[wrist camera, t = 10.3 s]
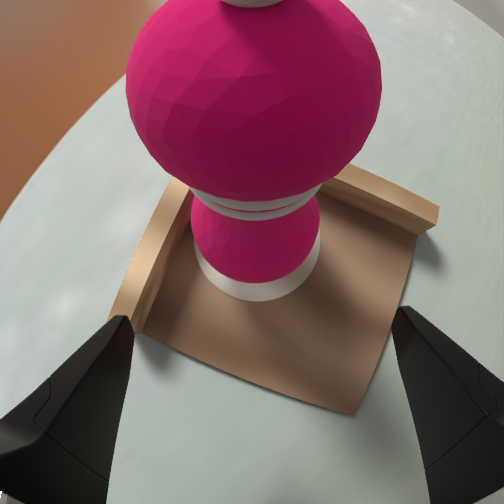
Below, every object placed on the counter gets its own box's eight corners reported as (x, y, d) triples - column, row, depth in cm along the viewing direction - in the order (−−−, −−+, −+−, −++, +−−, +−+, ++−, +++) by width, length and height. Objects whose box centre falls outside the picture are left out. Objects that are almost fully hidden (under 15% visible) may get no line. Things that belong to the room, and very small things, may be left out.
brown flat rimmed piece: (351, 414, 20) (367, 429, 17) (126, 322, 22) (106, 323, 18) (418, 220, 23) (439, 206, 20) (213, 138, 25) (207, 113, 21)
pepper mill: (265, 172, 23) (279, -113, 4) (326, 248, 22) (532, 19, 2) (184, 227, 22) (9, -19, 3) (244, 310, 21) (113, 261, 2)
